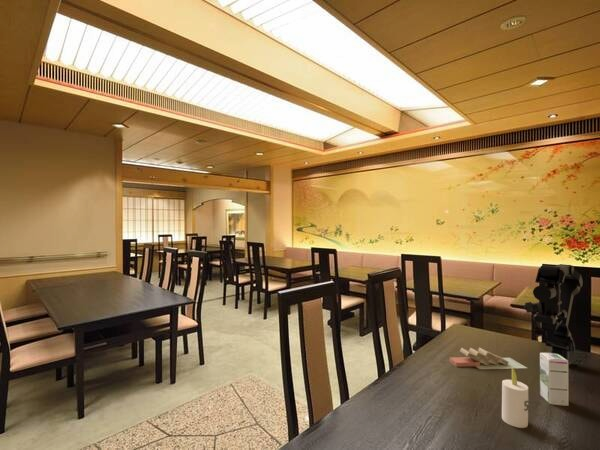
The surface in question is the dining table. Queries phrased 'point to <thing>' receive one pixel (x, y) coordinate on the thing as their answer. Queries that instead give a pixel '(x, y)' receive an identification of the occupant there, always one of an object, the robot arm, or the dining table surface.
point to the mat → (502, 365)
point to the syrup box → (554, 378)
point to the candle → (515, 402)
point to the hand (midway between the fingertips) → (550, 337)
